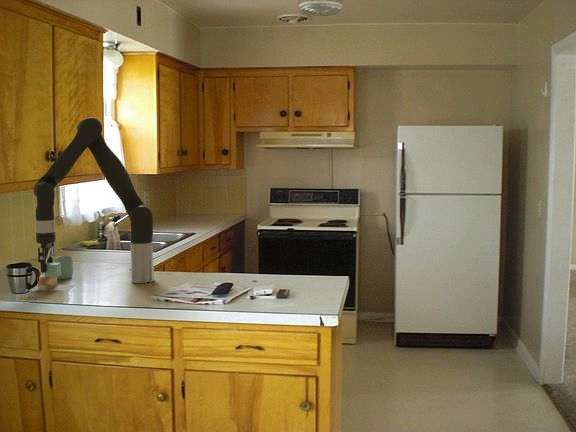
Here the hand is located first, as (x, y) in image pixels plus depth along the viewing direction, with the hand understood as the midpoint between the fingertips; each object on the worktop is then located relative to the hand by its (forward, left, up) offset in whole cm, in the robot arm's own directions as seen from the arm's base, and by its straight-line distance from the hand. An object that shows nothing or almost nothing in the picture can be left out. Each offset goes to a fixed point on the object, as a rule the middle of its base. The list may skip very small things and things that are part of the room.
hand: (47, 270), depth 275 cm
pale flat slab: (-2, 0, -8) cm, 9 cm away
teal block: (-2, 0, -2) cm, 3 cm away
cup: (-1, -21, -8) cm, 23 cm away
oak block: (0, 0, -7) cm, 7 cm away
